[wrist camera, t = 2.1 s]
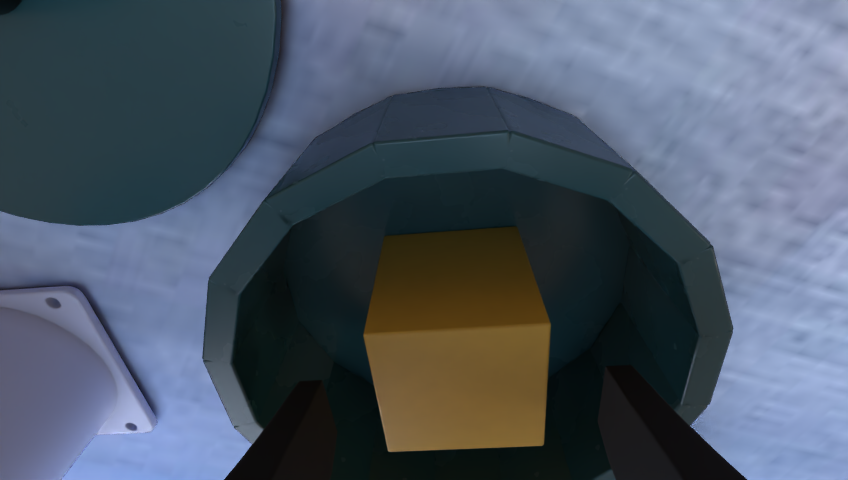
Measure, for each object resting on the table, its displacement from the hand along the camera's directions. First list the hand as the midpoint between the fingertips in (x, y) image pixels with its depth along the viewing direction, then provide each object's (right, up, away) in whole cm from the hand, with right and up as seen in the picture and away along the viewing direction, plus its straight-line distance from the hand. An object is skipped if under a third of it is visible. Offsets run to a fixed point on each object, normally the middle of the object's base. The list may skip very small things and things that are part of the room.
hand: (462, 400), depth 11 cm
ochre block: (0, +3, +5) cm, 5 cm away
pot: (0, +3, +5) cm, 6 cm away
